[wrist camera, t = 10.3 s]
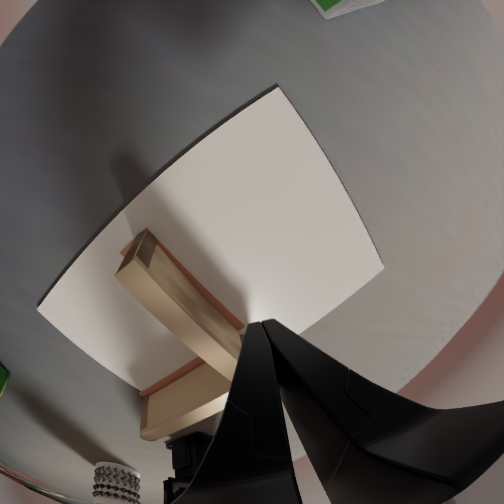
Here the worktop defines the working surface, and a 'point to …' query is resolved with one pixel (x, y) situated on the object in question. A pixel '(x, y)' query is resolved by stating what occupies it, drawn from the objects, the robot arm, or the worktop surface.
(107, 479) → the decorative candle
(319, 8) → the skincare box
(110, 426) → the worktop surface
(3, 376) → the chalk box
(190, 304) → the folding fence panel
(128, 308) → the fence post and layout card
